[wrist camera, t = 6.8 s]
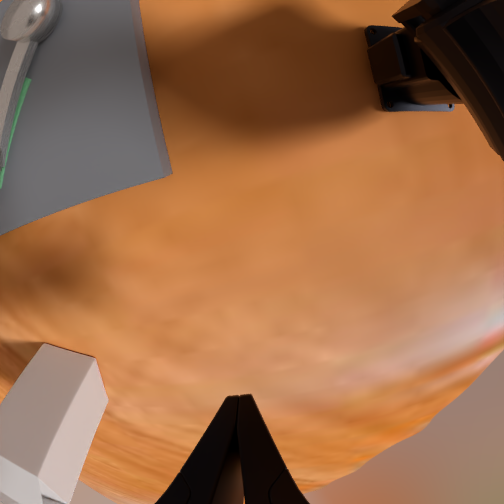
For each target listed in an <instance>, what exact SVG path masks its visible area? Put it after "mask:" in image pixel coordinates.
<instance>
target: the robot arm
mask: <svg viewBox="0 0 504 504" xmlns="http://www.w3.org/2000/svg"><path fill="white" fill-rule="evenodd" d="M392 17H393V18H394V19H395V20H396V21H397V22H398V23H402V24H403V25H404V26H405V27H404V28H399V27H388V26H374V25H371V26H368V27H367V28H365V35H366V39H367V42H368V46H369V49H368V50H367V52H368V56H369V60H370V64H371V68H372V72H373V77H374V82H375V83H376V84H377V85H378V89H379V94H380V100H381V105H382V108H383V109H384V110H385V111H387V112H396V111H453V110H454V104H465V106H466V107H467V109H468V110H469V112H470V113H471V115H472V117H473V118H474V120H475V121H476V123H477V125H478V126H479V128H480V130H481V131H482V133H483V135H484V136H485V138H486V140H487V142H488V143H489V145H490V147H491V148H492V149H493V150H494V151H495V152H496V153H497V154H498V155H500V156H501V158H502V160H503V161H504V0H409V1H408V2H407V3H406V4H405V5H404V6H402V7H401V8H400V9H399V10H398V11H397V12H396V13H395V14H393V15H392ZM370 30H372V31H373V32H374V34H372V33H371V32H370ZM387 102H390V104H391V107H390V108H389V107H388V106H387ZM447 104H449V107H448V105H447ZM180 472H181V473H180ZM180 472H179V473H178V474H177V476H176V477H175V479H174V480H173V482H172V483H171V484H170V486H169V487H168V489H167V490H166V491H165V492H164V494H163V495H162V496H161V497H160V498H159V499H158V501H157V502H156V503H155V504H243V501H244V498H245V504H310V503H309V502H308V501H307V500H306V498H305V497H304V496H303V494H302V493H301V491H300V490H299V488H298V487H297V485H296V483H295V481H294V480H293V478H292V476H291V474H290V472H289V470H288V469H287V467H286V465H285V463H284V461H283V459H282V457H281V455H280V453H279V451H278V449H277V447H276V445H275V443H274V441H273V439H272V436H271V434H270V432H269V430H268V428H267V426H266V424H265V422H264V420H263V418H262V415H261V413H260V411H259V409H258V407H257V405H256V403H255V400H254V398H253V396H252V395H251V394H244V395H240V396H238V395H233V396H227V397H226V398H225V400H224V402H223V403H222V405H221V407H220V408H219V410H218V412H217V413H216V415H215V417H214V418H213V420H212V421H211V423H210V425H209V426H208V428H207V430H206V431H205V433H204V434H203V436H202V437H201V439H200V441H199V442H198V444H197V445H196V447H195V448H194V450H193V452H192V453H191V455H190V456H189V458H188V459H187V461H186V462H185V464H184V465H183V467H182V468H181V470H180Z"/></svg>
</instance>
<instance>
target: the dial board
mask: <svg viewBox="0 0 504 504" xmlns="http://www.w3.org/2000/svg"><path fill="white" fill-rule="evenodd" d="M13 1H14V0H2V1H1V2H0V28H1V22H2V19H3V17H4V15H5V13H6V11H7V9H8V8H9V6H10V5H11V3H12V2H13ZM60 1H61V2H62V6H63V10H62V15H61V18H60V20H59V22H58V24H57V25H56V27H55V28H54V30H53V31H52V32H51V33H50V34H49V35H48V36H47V37H46V38H45V39H44V40H43V41H41V42H39V43H38V45H37V47H36V50H35V52H34V55H33V58H32V60H31V63H30V66H29V68H28V71H27V74H26V77H25V80H24V83H23V86H22V90H21V93H20V96H19V100H18V104H17V107H16V111H15V115H14V119H13V124H12V128H11V133H10V138H9V143H8V148H7V154H6V160H5V167H2V168H1V171H0V235H2V234H5V233H7V232H9V231H11V230H14V229H16V228H18V227H21V226H23V225H25V224H28V223H30V222H33V221H35V220H38V219H40V218H43V217H45V216H48V215H50V214H53V213H56V212H58V211H61V210H64V209H66V208H69V207H72V206H75V205H77V204H80V203H83V202H86V201H89V200H92V199H95V198H98V197H101V196H104V195H107V194H110V193H113V192H116V191H120V190H123V189H126V188H129V187H133V186H136V185H140V184H143V183H147V182H150V181H154V180H157V179H161V178H164V177H166V176H168V175H170V174H172V169H171V164H170V160H169V156H168V152H167V148H166V144H165V139H164V135H163V130H162V126H161V121H160V117H159V112H158V108H157V103H156V98H155V93H154V88H153V83H152V78H151V73H150V67H149V62H148V56H147V51H146V45H145V39H144V33H143V27H142V20H141V13H140V7H139V0H60ZM16 44H17V41H12V40H8V39H4V38H3V37H2V36H1V32H0V90H1V87H2V84H3V80H4V77H5V74H6V71H7V68H8V65H9V62H10V59H11V57H12V54H13V51H14V49H15V46H16Z"/></svg>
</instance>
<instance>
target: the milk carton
mask: <svg viewBox="0 0 504 504" xmlns="http://www.w3.org/2000/svg"><path fill="white" fill-rule="evenodd" d="M107 403H108V397H107V394H106V391H105V388H104V385H103V382H102V378H101V375H100V372H99V368H98V365H97V361H96V358H93V357H90V356H86V355H83V354H79V353H75V352H72V351H69V350H65V349H62V348H59V347H55V346H52V345H49V344H46V343H44V344H43V345H42V346H41V347H40V349H39V350H38V351H37V353H36V354H35V355H34V357H33V358H32V359H31V361H30V362H29V363H28V365H27V366H26V368H25V369H24V370H23V372H22V373H21V375H20V376H19V377H18V379H17V380H16V382H15V383H14V385H13V386H12V388H11V389H10V391H9V392H8V394H7V395H6V397H5V398H4V400H3V401H2V403H1V404H0V502H2V503H3V504H70V502H71V499H72V496H73V493H74V490H75V487H76V484H77V481H78V478H79V475H80V472H81V470H82V467H83V464H84V461H85V459H86V456H87V453H88V450H89V448H90V445H91V443H92V440H93V437H94V435H95V432H96V430H97V427H98V425H99V422H100V420H101V417H102V415H103V413H104V410H105V408H106V405H107Z"/></svg>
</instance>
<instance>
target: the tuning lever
mask: <svg viewBox="0 0 504 504" xmlns="http://www.w3.org/2000/svg"><path fill="white" fill-rule="evenodd" d="M62 10H63V6H62V2H61V1H60V0H14V1H13V2H12V3H11V5H10V6H9V8H8V9H7V11H6V13H5V15H4V17H3V19H2V22H1V28H0V32H1V36H2V37H3V38H4V39H8V40H12V41H17V44H16V46H15V49H14V51H13V54H12V57H11V59H10V62H9V65H8V68H7V71H6V74H5V77H4V80H3V84H2V87H1V90H0V171H1V168H2V167H5V160H6V154H7V148H8V143H9V138H10V133H11V128H12V124H13V119H14V115H15V111H16V107H17V104H18V100H19V96H20V93H21V90H22V86H23V83H24V80H25V77H26V74H27V71H28V68H29V66H30V63H31V60H32V58H33V55H34V52H35V50H36V47H37V45H38V43H39V42H41V41H43V40H44V39H45V38H46V37H47V36H48V35H49V34H50V33H51V32H52V31H53V30H54V28H55V27H56V25H57V24H58V22H59V20H60V18H61V15H62Z"/></svg>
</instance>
